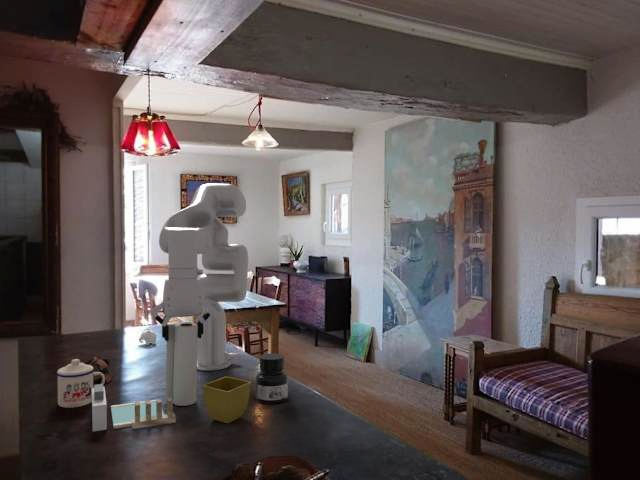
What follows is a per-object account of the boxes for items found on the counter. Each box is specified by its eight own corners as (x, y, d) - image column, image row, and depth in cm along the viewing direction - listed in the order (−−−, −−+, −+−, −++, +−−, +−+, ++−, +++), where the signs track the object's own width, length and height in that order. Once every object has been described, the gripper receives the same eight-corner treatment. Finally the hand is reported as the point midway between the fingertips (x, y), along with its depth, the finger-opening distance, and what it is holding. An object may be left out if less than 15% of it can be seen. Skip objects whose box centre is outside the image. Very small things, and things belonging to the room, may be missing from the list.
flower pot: (228, 428, 119) (228, 391, 119) (201, 421, 124) (201, 384, 124) (251, 417, 127) (252, 381, 126) (225, 410, 131) (226, 375, 131)
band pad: (158, 401, 137) (158, 399, 137) (166, 420, 124) (166, 417, 124) (110, 408, 132) (110, 405, 132) (113, 428, 119) (113, 425, 119)
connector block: (104, 409, 131) (104, 379, 131) (106, 429, 118) (106, 395, 118) (92, 411, 130) (91, 380, 129) (92, 431, 117) (92, 397, 117)
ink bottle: (256, 406, 134) (256, 361, 134) (252, 395, 143) (252, 353, 142) (292, 403, 137) (292, 359, 136) (285, 392, 145) (285, 351, 145)
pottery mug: (106, 387, 150) (90, 365, 148) (81, 399, 152) (65, 377, 150) (123, 366, 161) (109, 345, 159) (99, 377, 163) (85, 357, 161)
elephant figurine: (137, 343, 203) (137, 328, 203) (158, 341, 207) (158, 327, 207) (139, 347, 197) (139, 331, 197) (160, 345, 201) (160, 330, 200)
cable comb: (174, 418, 125) (174, 397, 125) (175, 422, 123) (175, 400, 123) (131, 425, 121) (131, 402, 120) (132, 429, 118) (132, 406, 118)
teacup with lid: (60, 411, 129) (59, 366, 129) (54, 401, 137) (53, 358, 136) (109, 401, 137) (109, 359, 136) (100, 392, 144) (100, 352, 144)
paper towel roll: (200, 402, 137) (202, 324, 136) (183, 408, 132) (185, 327, 131) (182, 396, 141) (184, 320, 140) (165, 402, 136) (166, 324, 135)
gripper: (212, 272, 142) (211, 333, 143) (147, 274, 135) (147, 338, 135) (218, 274, 135) (218, 338, 136) (150, 276, 128) (150, 344, 129)
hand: (182, 338), depth 136 cm, fingers open, 8 cm apart
